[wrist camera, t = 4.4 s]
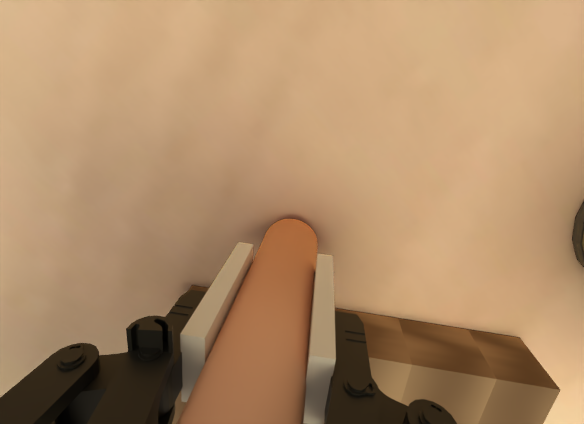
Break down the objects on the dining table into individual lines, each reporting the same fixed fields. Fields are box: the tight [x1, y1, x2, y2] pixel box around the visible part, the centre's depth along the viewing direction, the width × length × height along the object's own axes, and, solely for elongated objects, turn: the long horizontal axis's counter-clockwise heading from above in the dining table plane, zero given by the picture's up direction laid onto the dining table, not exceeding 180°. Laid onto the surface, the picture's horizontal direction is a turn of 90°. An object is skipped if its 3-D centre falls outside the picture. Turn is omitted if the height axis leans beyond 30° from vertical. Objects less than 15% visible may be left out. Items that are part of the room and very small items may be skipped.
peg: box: [177, 219, 318, 424], centre depth 12 cm, size 3×3×15 cm
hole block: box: [172, 285, 560, 424], centre depth 22 cm, size 22×12×4 cm, turn 84°
